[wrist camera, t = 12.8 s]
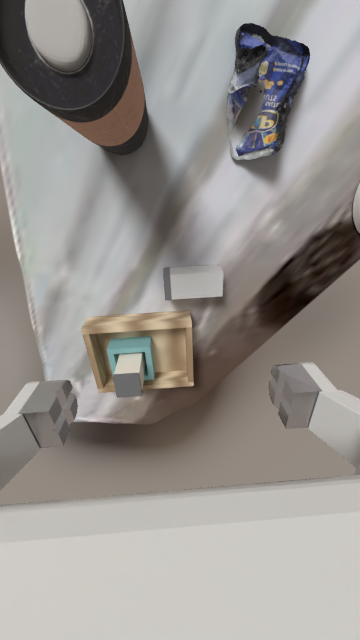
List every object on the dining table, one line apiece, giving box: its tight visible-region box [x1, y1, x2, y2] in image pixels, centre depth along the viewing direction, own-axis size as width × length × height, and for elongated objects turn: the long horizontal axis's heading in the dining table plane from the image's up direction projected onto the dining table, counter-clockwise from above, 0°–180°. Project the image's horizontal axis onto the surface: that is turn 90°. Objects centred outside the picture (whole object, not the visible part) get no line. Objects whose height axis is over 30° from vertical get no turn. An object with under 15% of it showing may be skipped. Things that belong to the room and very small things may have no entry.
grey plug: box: [163, 264, 223, 300], centre depth 38 cm, size 9×4×4 cm, turn 93°
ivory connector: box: [113, 352, 146, 397], centre depth 42 cm, size 4×4×9 cm
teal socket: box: [107, 336, 155, 380], centre depth 44 cm, size 7×7×4 cm
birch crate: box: [81, 310, 194, 393], centre depth 44 cm, size 18×14×4 cm
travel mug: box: [0, 0, 148, 155], centre depth 21 cm, size 8×8×20 cm
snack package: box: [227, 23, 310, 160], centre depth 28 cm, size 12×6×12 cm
